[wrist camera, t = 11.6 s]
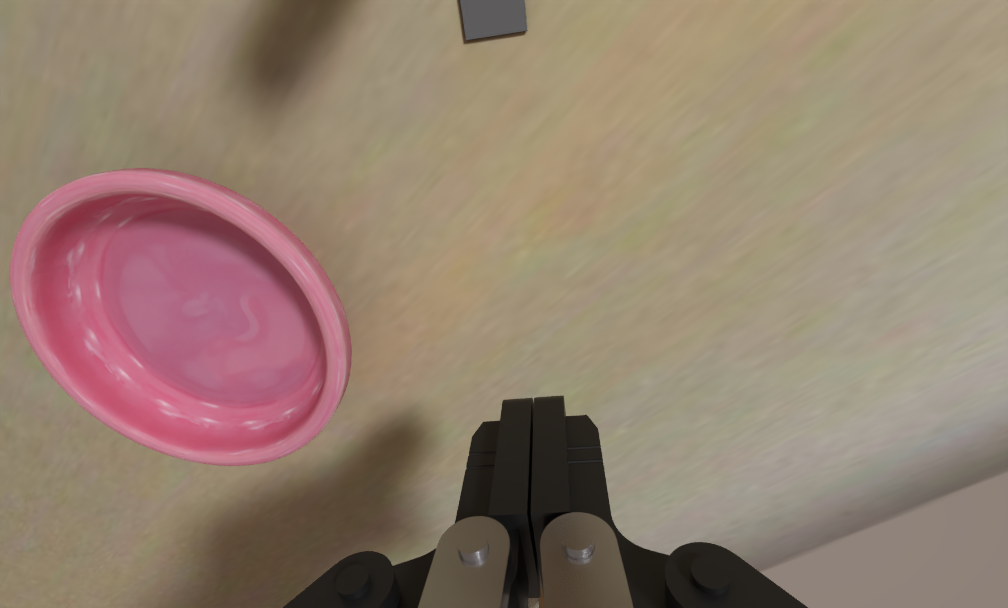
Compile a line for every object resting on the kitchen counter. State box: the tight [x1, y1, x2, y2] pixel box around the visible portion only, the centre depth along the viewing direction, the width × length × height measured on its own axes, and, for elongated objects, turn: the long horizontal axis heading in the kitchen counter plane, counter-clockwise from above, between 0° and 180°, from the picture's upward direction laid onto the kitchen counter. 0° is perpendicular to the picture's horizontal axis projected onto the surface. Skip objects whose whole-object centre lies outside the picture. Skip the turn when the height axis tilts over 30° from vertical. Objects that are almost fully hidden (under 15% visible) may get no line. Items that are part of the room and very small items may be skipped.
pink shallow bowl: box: [10, 168, 352, 466], centre depth 20 cm, size 12×12×3 cm
